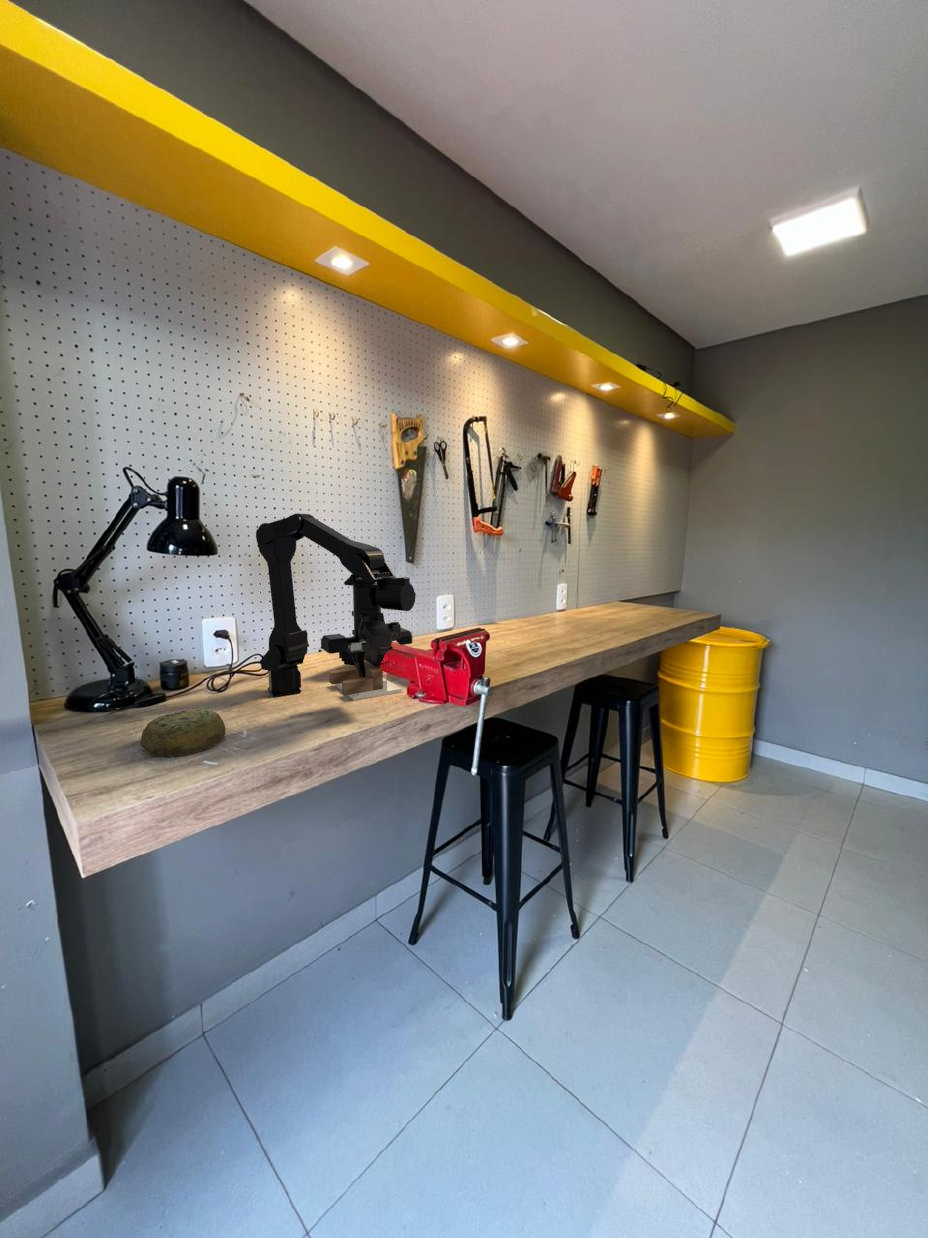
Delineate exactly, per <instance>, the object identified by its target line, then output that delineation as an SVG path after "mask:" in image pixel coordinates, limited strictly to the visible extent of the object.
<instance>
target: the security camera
mask: <svg viewBox="0 0 928 1238" xmlns="http://www.w3.org/2000/svg"><path fill="white" fill-rule="evenodd" d="M351 637H354V635H352V636H351ZM359 641H361V640H359ZM362 641H363V640H362ZM362 650H364V651H365V654H364V660H366V661H368V662H369V663H371V648H369V646H368V644H364V645H362ZM338 658H339V659H341V662H343V665H346V666H353V667H355V663H354V661H353V659H352V657H351V655H350V654H349V653H348V652H346V651H345V652H341V653H338Z"/></svg>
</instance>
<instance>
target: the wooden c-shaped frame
mask: <svg viewBox="0 0 928 1238" xmlns="http://www.w3.org/2000/svg"><path fill="white" fill-rule="evenodd" d="M334 685H335V687H337V688H338V689H339V690H340V691H341V692H342V683H339V684H334ZM398 693H402V688H401V687H399V686H398V685H396V684H394V683H393V682H391V681H390V680H388V674H387V673H386V672H385V671H383V689H379V690H374V691H368V692H362V693H356V694H350V695H347V697H349V698H350V699H352V700H353V701H360V700H364V699H369V698H376V697H380V696H381V697H382V696H386V695H393V694H398Z"/></svg>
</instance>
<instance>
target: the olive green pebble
mask: <svg viewBox="0 0 928 1238" xmlns="http://www.w3.org/2000/svg"><path fill="white" fill-rule="evenodd" d="M141 732H142V733H141V736H140V737H141V738H140V745H141V748H142V749H143V750H144V751H145V752H146V753H148V754H149V755H151V756H157V757H178V756H184V755H185V756H186V755H191V754H195V753H199V752H202V751H207V750H209V749H211V748H213V747H215V746H217V745H218V744H219V743H220V742H221V741H222V740H224V738H225V737H226V725H225V722H224V720H223V718H222V717H221V716H220V714H219V713H217V712H216V711H213V710H211V709H207V708H193V709H184V710H178V711H174V712H169V713H167V714H163V715H161V716H158V717H156V718H154V719H152V720H151V721H149V722H148V723H147V724H146V726H145V728H144V729H143V731H141Z"/></svg>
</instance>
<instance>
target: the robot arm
mask: <svg viewBox="0 0 928 1238" xmlns="http://www.w3.org/2000/svg"><path fill="white" fill-rule="evenodd" d="M255 531H256V532H255V539H256V544H257V547H258V552H259V554H260V555H261V556H262V557H263V559H264V560H265V562H266V563H267V569H268V578H269V587H270V596H271V597H270V598H271V605H272V614H273V624H274V626H273V628H272V631H271V633H270V634H269V636H268V650H267V652H266V653H265V654H264V655H263V656H262V657H261V659H260V660H259V663H260V667H261V669H262V670H263V671H267V675H268V687H267V691H268V692H269V693H270V694H269V695H271V696H272V697H274V698H276V697H281V696H287V695H292V694H293V695H294V694H300V693H302V690H301V688H302V675H301V674H302V673H301V671H300V670H299V665H302V664H304V660H305V657H306V655H307V654H308V648H309V647H310V644H309V641H308V631H307V630H305V629H304V630H302V628H301V627H300V625H299V624H298V622H297V612H296V600H295V591H294V582H293V572H292V560H293V558H294V555H295V553H296V551H297V542H298V541H299V540H303V539H304V538H307V539H308V540H310V541H312V542H313V543H314V544H316V545H318V546H320V547H321V548H323V549H325V550H326V551H327V552H329V553H331V554H333V555H334V556H335V557H336V558H337V559H339V561H340V564H341V566H342V567H344V568H345V569H346V570H348V572H349V573H351V574H350V576H349V577H348V578H347V579H346V580H345V581H344V582H343V585H345V586H352V603H353V604H352V605H353V607H352V608H353V610H352V611H351V617H353V629H351V631H352V632H351V634H352V636H354V637H352V636H347V637H346V636H345V635H344V634H343V635H342V634H341V633H333V634H326V635H325V634H324V635H323V636H322V637H321V639H320V648H321V650H323V651H325V652H326V653H328V654H339V653H341V652H345V651H346V652H348V653H349V654H350V655H351V657H352V659H353V661H354V663H355V665H356V667H357V670H358V672H359V674H360V676H361V678H365V666H364V654H365V651H364V650H362V645H364V644H368V646H369V648H371V664H373V665H374V666H376V667H378V668H379V669H381V668H380V667H381V665H382V664H381V662H382V660H383V658H384V655H385V654H386V653H387V652H388V651H389V652H390V651H392V650H393V649H394V647H393V646H392V645H393V642H396V643H397V644H398V645H400V646H404V645H411V644H413V641H414V640H413V634H412V632H411V631H410V630H408V629H406V628H403V627H401V624H400V622H399V621H393V622H388V623H386V621H385V615H384V612H382V609H383V610H393V611H402V612H410V611H411V610H412V609H413V608H414V606H415V602H416V597H417V596H416V595H417V594H416V591H415V588H414V586H413V585H412V584H411V583H410V581H411V579H410V578H411V577H409V576H403V577H396V576H395V574H394V572H393V571H392V569H391V567H390V566H389V564H388V563H387V561H386V559H385V556H384V555H385V553H384V552H383V551H382V550H381V548H378V547H376V546H373V545H370V544H367V543H364V542H359V541H356V540H353V539H350V538H349V537H347V536H345V535H343V534H342V533H341V532H338V530H337V531H336V530H335V529H333V528H332V527H330V526H329V525H327V524H325V523H323V522H322V521H320V520H319V519H317V518H315V517H314V515H312V514H310V513H298V512H297V513H296V512H295V513H294V514H291V515H289V516H288V517H285V518H284V517H283V518H281V519H278V520H275V521H271V522H263V523H261V524H260V525H259V526H258V528H257V529H256V530H255ZM359 640H361V641H359ZM362 640H363V641H362ZM389 652H388V653H389ZM356 667H355V668H356Z"/></svg>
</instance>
